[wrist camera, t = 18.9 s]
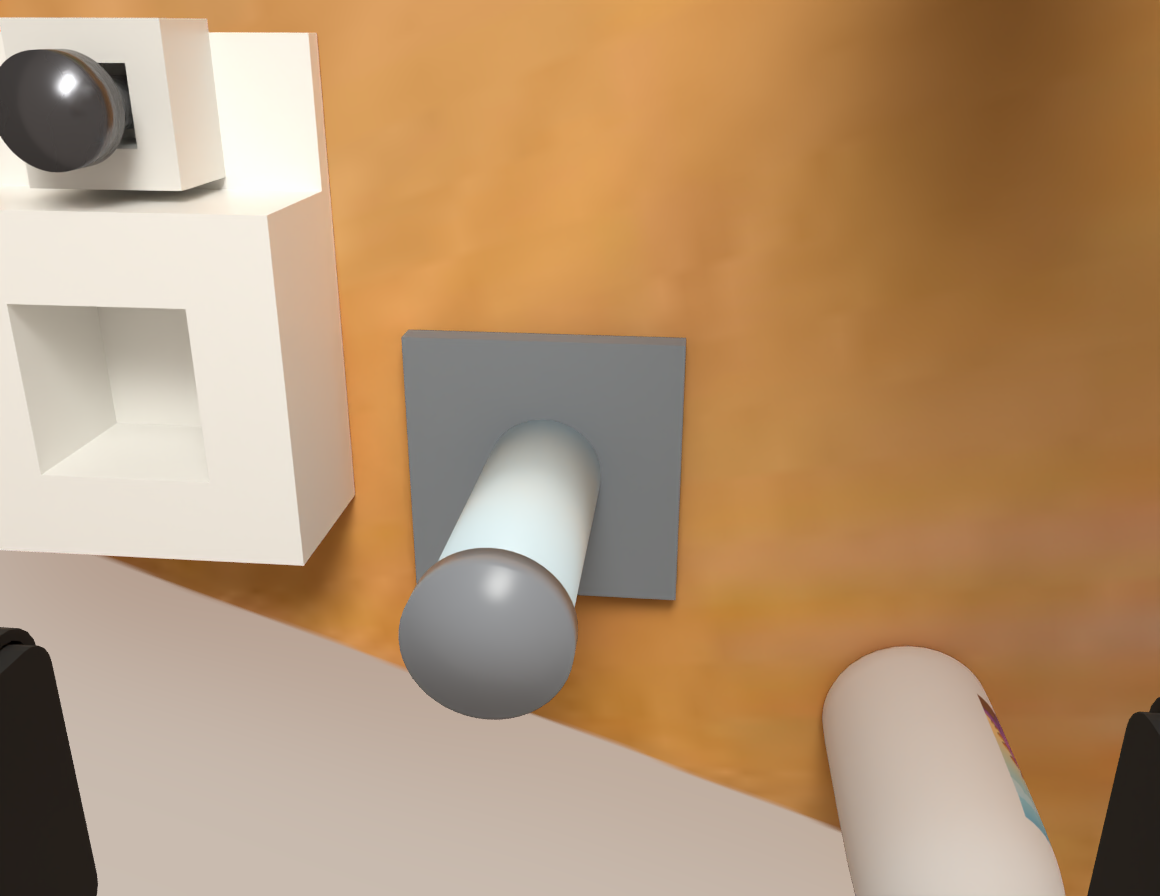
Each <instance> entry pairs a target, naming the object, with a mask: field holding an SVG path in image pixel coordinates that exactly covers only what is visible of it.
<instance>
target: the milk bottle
mask: <svg viewBox="0 0 1160 896" xmlns="http://www.w3.org/2000/svg"><path fill="white" fill-rule="evenodd" d="M822 723H823V731H824V738H825V745H826V750H827V756H828V761H829V767H830V773H831V778H832V783H833V789H834V794H835V800H836V805H837V811H838V816H839V821H840V826H841V831H842V836H843V842H844V847H845V851H846V857H847V862H848V867H849V871H850V875H851V879H852V883H853V887H854V892H855V896H1065V891H1064V886H1063V882H1062V878H1061V874H1060V870H1059V866H1058V863H1057V860H1056V858H1055V855H1054V852H1053V850H1052V847H1051V844H1050V842H1049V839H1048V836H1047V833H1046V831H1045V828H1044V826H1043V823H1042V821H1041V819H1040V816H1039V814H1038V811H1037V809H1036V807H1035V804H1034V802H1033V800H1032V797H1031V795H1030V792H1029V790H1028V788H1027V785H1026V783H1025V781H1024V778H1023V776H1022V774H1021V771H1020V769H1019V767H1018V764H1017V762H1016V760H1015V758H1014V755H1013V753H1012V751H1011V748H1010V746H1009V744H1008V741H1007V739H1006V737H1005V735H1004V732H1003V730H1002V728H1001V725H1000V723H999V721H998V719H997V716H996V714H995V712H994V710H993V707H992V705H991V703H990V701H989V699H988V697H987V695H986V693H985V691H984V689H983V687H982V685H981V683H980V682H979V680H978V679H977V678H976V676H975V675H974V674H973V673H972V672H971V671H970V670H969V669H968V668H967V667H966V666H964V665H963V664H962V663H960V662H959V661H957V660H956V659H954V658H952V657H950V656H948V655H946V654H944V653H942V652H939V651H936V650H932V649H928V648H925V647H915V646H898V647H889V648H886V649H881V650H877V651H875V652H872V653H870V654H868V655H865V656H863V657H861V658H860V659H858V660H857V661H855V662H854V663H852V664H850V665H849V666H848V667H847V668H846V669H845V670H844V671H843V672H842V673H841V674H840V675H839V676H838V678H837V680H836V681H835V682H834V683H833V685H832V686H831V688H830V690H829V692H828V694H827V696H826V699H825V702H824V707H823V714H822Z"/></svg>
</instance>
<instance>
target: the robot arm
mask: <svg viewBox="0 0 1160 896" xmlns="http://www.w3.org/2000/svg"><path fill="white" fill-rule="evenodd" d="M97 887H98V881H97V873H96V868H95V863H94V858H93V854H92V849H91V844H90V840H89V835H88V831H87V826H86V821H85V817H84V812H83V807H82V802H81V798H80V793H79V788H78V783H77V779H76V774H75V769H74V765H73V760H72V755H71V751H70V746H69V741H68V736H67V732H66V727H65V722H64V718H63V713H62V708H61V704H60V699H59V694H58V690H57V685H56V680H55V676H54V671H53V666H52V662H51V659H50V656H49V654H48V652H47V651H46V650H45V649H44V648H42V647H40V646H36V645H35V642H34V639H33V638H32V637H31V636H30V635H29V633H28V632H26V631H24V630H22V629H19V628H4V627H0V896H96V895H97ZM1087 896H1160V697H1159V698H1157V699H1156V701H1155V702H1154V703H1153V705H1152V706H1151V709H1150V711H1149V712H1137V713H1134V714H1133V715H1132V717H1131V718H1130V719H1129V722H1128V725H1127V728H1126V732H1125V736H1124V740H1123V745H1122V749H1121V753H1120V758H1119V762H1118V766H1117V771H1116V775H1115V779H1114V783H1113V788H1112V792H1111V796H1110V801H1109V805H1108V809H1107V814H1106V818H1105V822H1104V826H1103V831H1102V835H1101V839H1100V844H1099V848H1098V852H1097V857H1096V861H1095V865H1094V869H1093V874H1092V878H1091V882H1090V887H1089V891H1088V895H1087Z"/></svg>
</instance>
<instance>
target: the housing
mask: <svg viewBox="0 0 1160 896" xmlns="http://www.w3.org/2000/svg"><path fill="white" fill-rule="evenodd" d="M0 29H1V32H0V66H1V65H2V63H3V62H4V61H6V60H7V59H8V58H9V57H11V56H13V55H14V54H16V53H19V52H22V51H26V50H36V49H69V50H73V51H77V52H79V53H82V54H84V55H86V56H88V57H90V58H91V59H93V60H94V61H96V62H97V63H98V64H99V65H100V66H101V67H103V69H104V70H105V71H106V72H107V73H108V74H109V75H120V74H127V81H128V87H129V94H130V101H131V108H132V115H133V122H134V128H132V129H127V130H124V133H123V136H122V139H121V141H120V144H119V146H118V147H117V149H116V150H115V151H114V153H113V154H112V155H111V156H110V157H108V158H107V159H106V160H104V161H103V162H101V163H99V164H96V165H93V166H89V167H85V168H80V169H76V170H72V171H67V172H48V171H43V170H40V169H38V168H35V167H33V166H31V165H29V164H27V163H26V162H24V161H23V160H21V159H20V158H19V157H18V156H16V155H15V154H14V153H13V152H12V151H11V150H10V149H9V148H8V146H7V145H6V144H5V143H4V141H3V140H2V138H1V136H0V550H9V551H28V552H48V553H67V554H87V555H106V556H125V557H145V558H164V559H184V560H203V561H223V562H242V563H262V564H281V565H301V566H304V565H305V563H306V562H307V561H308V559H309V558H310V556H311V555H312V554H313V552H314V551H315V550H316V548H317V547H318V545H319V544H320V543H321V541H322V540H323V539H324V537H325V536H326V534H327V533H328V532H329V530H330V529H331V527H332V526H333V525H334V523H335V522H336V521H337V519H338V518H339V516H340V515H341V514H342V512H343V511H344V510H345V508H346V507H347V505H348V504H349V503H350V501H351V500H352V499H353V497H354V496H355V487H354V475H353V463H352V451H351V438H350V426H349V414H348V402H347V390H346V378H345V366H344V354H343V342H342V330H341V318H340V306H339V294H338V282H337V270H336V258H335V246H334V234H333V221H332V209H331V197H330V185H329V173H328V161H327V149H326V137H325V125H324V113H323V101H322V89H321V77H320V65H319V53H318V41H317V33H234V32H209V31H208V23H207V19H191V18H0Z"/></svg>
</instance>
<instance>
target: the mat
mask: <svg viewBox="0 0 1160 896" xmlns="http://www.w3.org/2000/svg"><path fill="white" fill-rule="evenodd" d="M402 353H403V369H404V385H405V402H406V418H407V434H408V450H409V467H410V483H411V499H412V515H413V532H414V548H415V564H416V580H417V583H418V581H419V580H420V579H421V577H422V576H423V574H424V573H425V572H426V571H427V570H428V569H429V568H430V567H432V566H433V565H434V564H435V563H437V562H438V560H439V558H440V556H441V554H442V552H443V550H444V548H445V546H446V544H447V542H448V540H449V538H450V536H451V534H452V532H453V530H454V528H455V525H456V523H457V521H458V519H459V517H460V515H461V513H462V511H463V509H464V507H465V505H466V503H467V501H468V499H469V497H470V495H471V493H472V491H473V489H474V486H475V484H476V482H477V480H478V478H479V476H480V474H481V472H482V470H483V468H484V466H485V464H486V462H487V460H488V458H489V456H490V454H491V452H492V450H493V448H494V446H495V444H496V443H497V441H498V440H499V438H500V437H501V436H502V435H503V434H504V433H506V432H507V431H508V430H509V429H511V428H513V427H514V426H516V425H519V424H521V423H524V422H527V421H532V420H552V421H556V422H560V423H563V424H565V425H568V426H570V427H572V428H573V429H575V430H576V431H578V432H579V433H580V434H582V435H583V436H584V437H585V438H586V439H587V440H588V441H589V443H590V444H591V445H592V447H593V448H594V450H595V452H596V454H597V457H598V460H599V463H600V468H601V483H600V487H599V492H598V497H597V502H596V507H595V512H594V516H593V521H592V526H591V531H590V536H589V540H588V545H587V550H586V555H585V560H584V565H583V569H582V574H581V579H580V584H579V589H578V594H577V595H586V596H605V597H624V598H643V599H662V600H675V597H676V573H677V549H678V524H679V500H680V475H681V451H682V427H683V402H684V378H685V354H686V338H668V337H635V336H601V335H568V334H534V333H501V332H468V331H434V330H408V331H407V332H406V333H405V334H404V335H403V336H402Z"/></svg>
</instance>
